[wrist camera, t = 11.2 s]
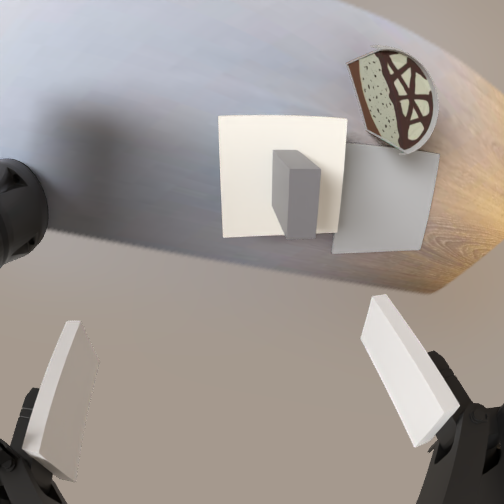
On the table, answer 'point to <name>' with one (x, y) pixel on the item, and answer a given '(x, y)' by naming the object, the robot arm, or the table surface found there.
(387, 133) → the food container
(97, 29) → the table surface
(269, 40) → the table surface
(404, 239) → the mat
